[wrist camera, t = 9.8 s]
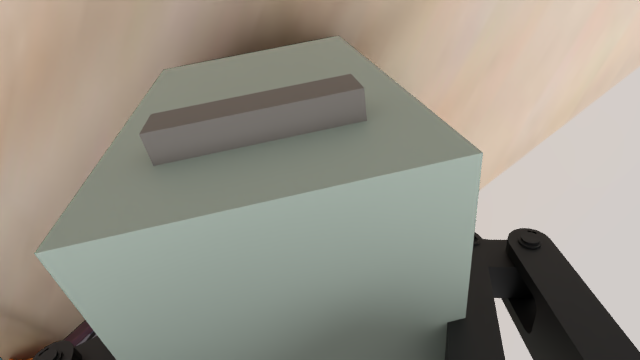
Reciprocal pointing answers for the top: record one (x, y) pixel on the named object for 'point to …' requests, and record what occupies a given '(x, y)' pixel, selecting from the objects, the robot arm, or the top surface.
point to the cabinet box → (274, 216)
